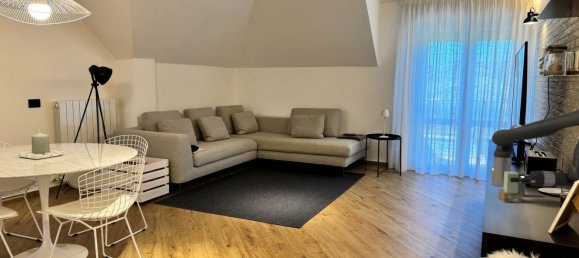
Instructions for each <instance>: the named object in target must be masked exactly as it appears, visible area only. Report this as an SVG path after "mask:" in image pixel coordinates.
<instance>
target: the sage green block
mask: <svg viewBox="0 0 579 258" xmlns="http://www.w3.org/2000/svg"><path fill="white" fill-rule="evenodd" d="M518 173H519V172H517V171H511V172H505V171H504V187H503V190H504V191H505V192H506V193H518V182H510V178H518V177H519V174H518Z"/></svg>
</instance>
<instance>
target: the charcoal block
mask: <svg viewBox="0 0 579 258" xmlns="http://www.w3.org/2000/svg"><path fill="white" fill-rule="evenodd" d="M518 192H520V193H521V194H522V195H521V198H525V197H526V184H522V183H519V182H518Z"/></svg>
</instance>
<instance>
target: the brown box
mask: <svg viewBox="0 0 579 258" xmlns="http://www.w3.org/2000/svg"><path fill="white" fill-rule="evenodd" d="M521 195H522V194H521V193H520V192H518V193H506V192H505V191H504V189H501V188H500V189H498V199H499V200H500V201H501V202H502V203H505V204H522V197H521Z"/></svg>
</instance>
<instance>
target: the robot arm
mask: <svg viewBox="0 0 579 258" xmlns="http://www.w3.org/2000/svg"><path fill="white" fill-rule="evenodd" d="M577 126H579V109H578V110H574V111H571V112H568V113H565V114H562V115H558V116H553V117H550V118H545V119H541V120H536V121H533V122H529V123H526V124H524V125H523V124H522V125H521V126H518V127H514V128H510V129H509V128H508V129H504V128H503V129H499V130H496V131H495V132H494V133H493V134H492V135H491V141H492V142H493V144H494V145H496V148H495V150H494V152H493V166H492V167H493V168H492V169H491V181H490V182H491V185H493V186H496V187H503V188H504V171H505V172H512V155H513V152H514V143H515V142H519V141H525V140H536V139H540V138H541V139H542V138H546V137H550V136H553V135H554V134H556V133H558V132H560V131H562V130H563V129H567V128H571V127H577ZM571 165H572V167H574V172H563V171H548V170H532V171H530V172H529V174H527V173H524V172H517V173H518V174H519V177H518V178H510V182H519V183H522V184H525V185H527V184H528V185H530V186H532V187H563V186H564V187H571V188H572V185H573V184H574V182H575V181H577V180H579V140H578V141H577V143H576V145H575V147H574V149H573V154H572V160H571Z"/></svg>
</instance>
